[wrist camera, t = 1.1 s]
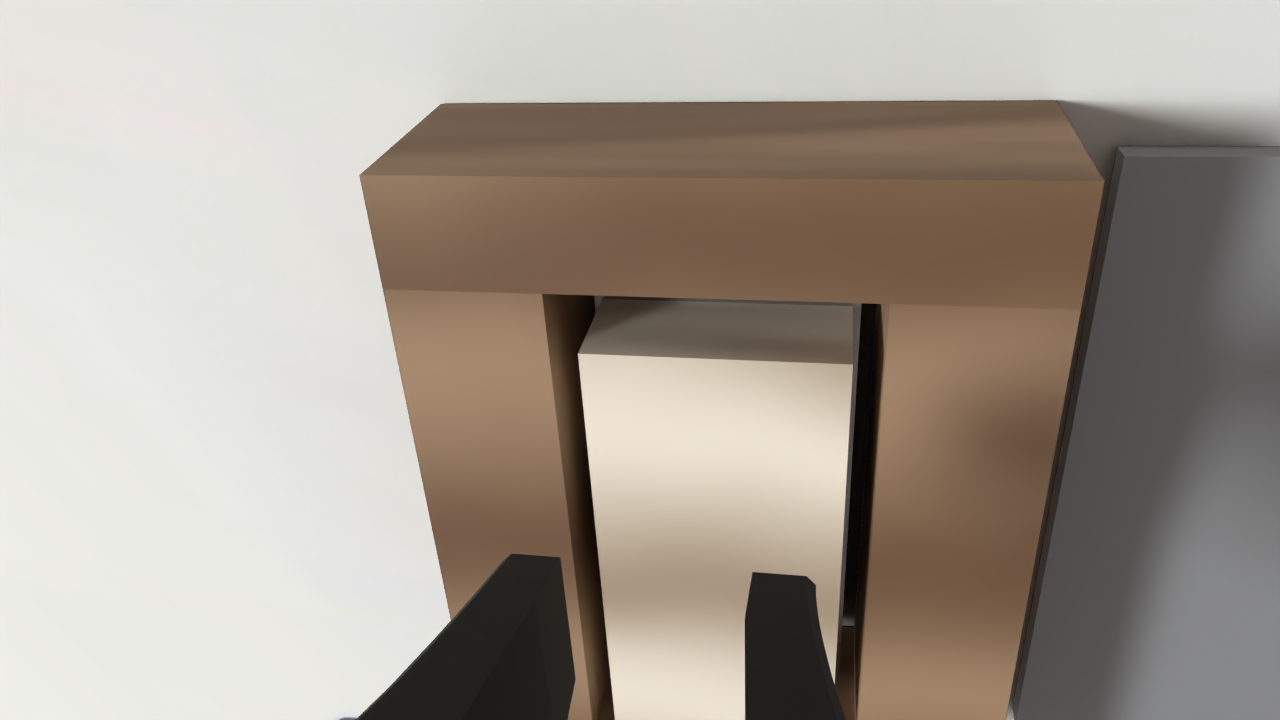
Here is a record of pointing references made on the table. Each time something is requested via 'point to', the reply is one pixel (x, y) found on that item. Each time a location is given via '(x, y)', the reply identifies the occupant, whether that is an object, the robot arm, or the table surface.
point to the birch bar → (711, 485)
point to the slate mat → (1169, 457)
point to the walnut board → (753, 270)
